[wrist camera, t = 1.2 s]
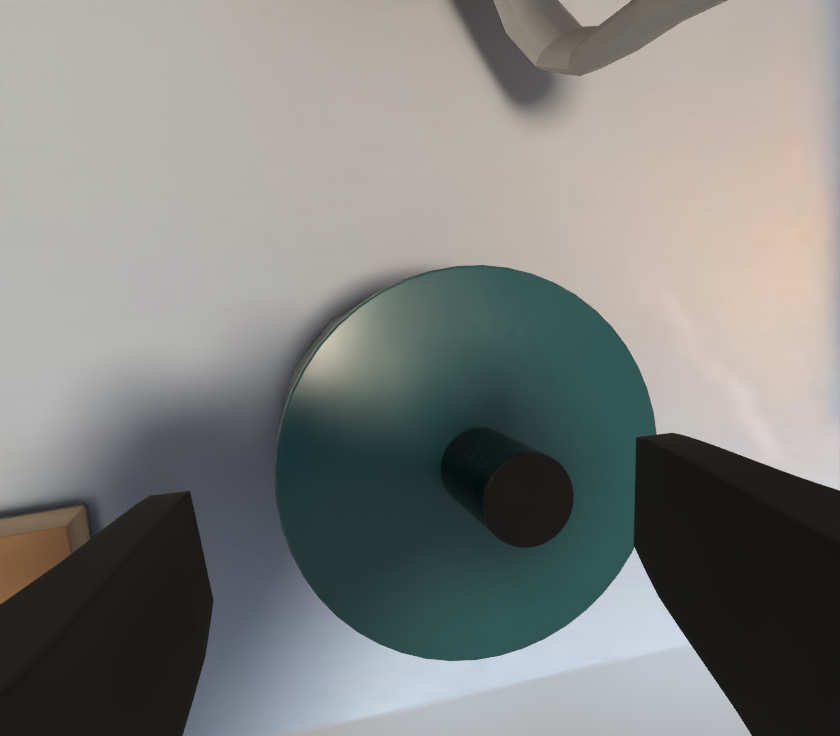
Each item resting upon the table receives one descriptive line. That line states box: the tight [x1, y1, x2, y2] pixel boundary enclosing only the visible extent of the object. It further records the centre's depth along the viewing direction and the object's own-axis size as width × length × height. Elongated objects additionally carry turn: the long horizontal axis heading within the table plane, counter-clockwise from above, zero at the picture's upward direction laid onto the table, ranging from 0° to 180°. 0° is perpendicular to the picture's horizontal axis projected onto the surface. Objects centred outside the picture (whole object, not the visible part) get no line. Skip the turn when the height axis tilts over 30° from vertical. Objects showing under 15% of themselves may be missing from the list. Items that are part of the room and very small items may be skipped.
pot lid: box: [274, 265, 657, 661], centre depth 18 cm, size 11×11×5 cm
